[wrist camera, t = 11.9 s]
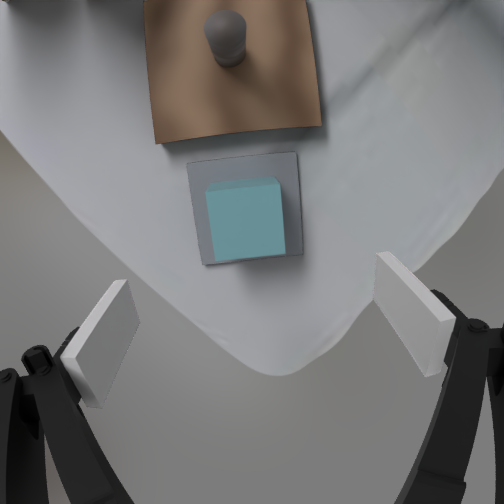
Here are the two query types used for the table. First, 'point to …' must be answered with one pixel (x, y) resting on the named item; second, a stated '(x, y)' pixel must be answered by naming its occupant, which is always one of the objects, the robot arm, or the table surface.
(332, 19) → the table surface
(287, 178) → the mat
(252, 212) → the teal matte cube
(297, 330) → the table surface
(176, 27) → the brown square board
